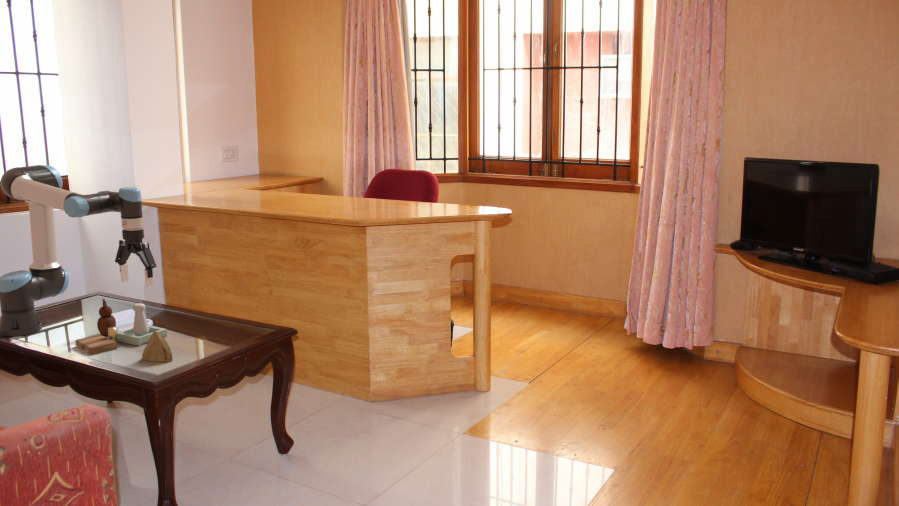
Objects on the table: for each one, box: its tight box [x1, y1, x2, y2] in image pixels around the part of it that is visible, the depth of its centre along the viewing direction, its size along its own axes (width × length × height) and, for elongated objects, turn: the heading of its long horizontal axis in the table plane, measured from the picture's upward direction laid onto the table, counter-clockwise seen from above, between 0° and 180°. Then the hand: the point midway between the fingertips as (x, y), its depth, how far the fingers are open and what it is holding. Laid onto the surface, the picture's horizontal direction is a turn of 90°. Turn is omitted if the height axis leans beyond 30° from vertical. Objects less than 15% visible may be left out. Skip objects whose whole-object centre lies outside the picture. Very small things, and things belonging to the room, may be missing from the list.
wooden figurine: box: [96, 298, 117, 337], centre depth 297 cm, size 7×6×15 cm
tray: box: [117, 324, 168, 346], centre depth 294 cm, size 13×13×3 cm
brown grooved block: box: [75, 334, 118, 356], centre depth 283 cm, size 14×9×3 cm, turn 49°
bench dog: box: [107, 326, 119, 344], centre depth 288 cm, size 3×3×6 cm
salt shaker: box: [132, 302, 149, 337], centre depth 292 cm, size 6×6×13 cm
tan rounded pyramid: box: [140, 331, 173, 363], centre depth 269 cm, size 11×9×10 cm
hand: (137, 283), depth 290 cm, fingers open, 13 cm apart
